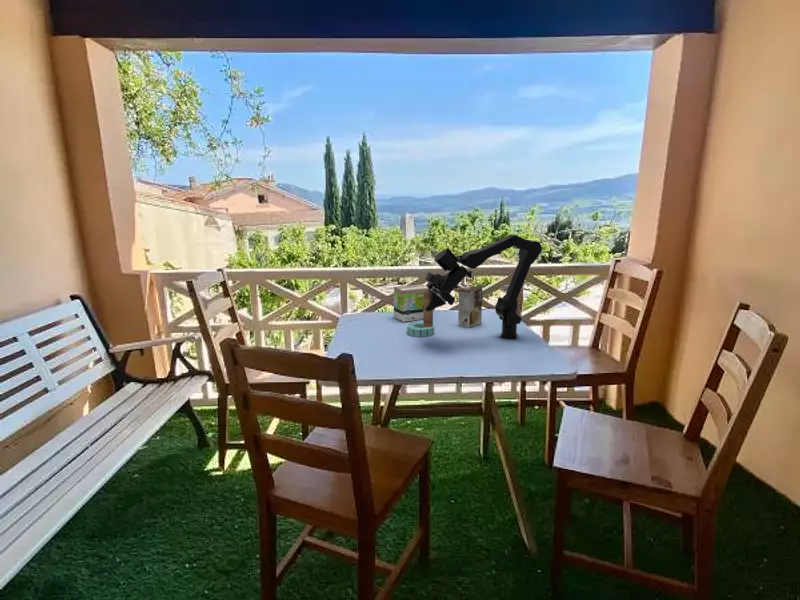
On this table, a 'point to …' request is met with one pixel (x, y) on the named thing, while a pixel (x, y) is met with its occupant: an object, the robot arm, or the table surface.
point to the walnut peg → (428, 315)
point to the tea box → (409, 302)
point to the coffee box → (470, 306)
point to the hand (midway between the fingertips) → (424, 309)
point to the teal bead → (419, 330)
